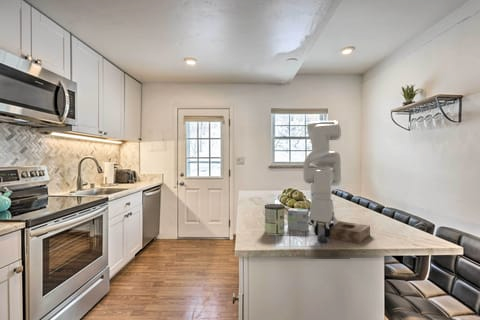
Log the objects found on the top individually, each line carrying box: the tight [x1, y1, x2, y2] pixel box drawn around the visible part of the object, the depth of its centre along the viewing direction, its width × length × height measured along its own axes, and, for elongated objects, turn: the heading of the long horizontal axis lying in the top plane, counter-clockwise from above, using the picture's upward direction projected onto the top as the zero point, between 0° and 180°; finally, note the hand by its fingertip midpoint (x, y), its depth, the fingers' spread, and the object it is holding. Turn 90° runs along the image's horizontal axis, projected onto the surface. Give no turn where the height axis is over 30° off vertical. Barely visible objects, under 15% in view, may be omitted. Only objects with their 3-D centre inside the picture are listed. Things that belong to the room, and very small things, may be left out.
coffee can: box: [264, 203, 286, 236], centre depth 137 cm, size 10×10×14 cm
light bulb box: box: [287, 207, 310, 232], centre depth 144 cm, size 11×7×11 cm, turn 71°
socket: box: [328, 220, 371, 244], centre depth 130 cm, size 16×16×5 cm
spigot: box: [316, 221, 328, 244], centre depth 122 cm, size 4×4×9 cm
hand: (322, 235), depth 122 cm, fingers closed on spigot, 4 cm apart
